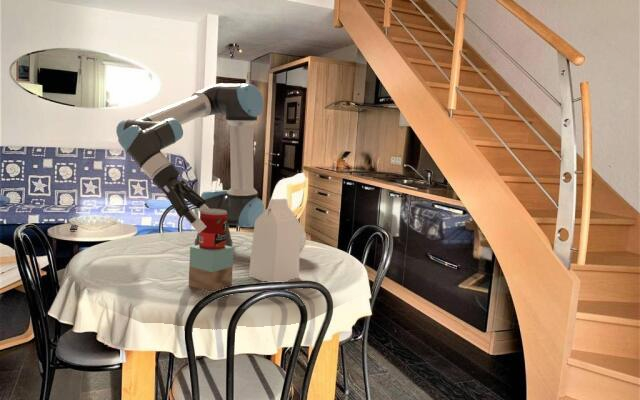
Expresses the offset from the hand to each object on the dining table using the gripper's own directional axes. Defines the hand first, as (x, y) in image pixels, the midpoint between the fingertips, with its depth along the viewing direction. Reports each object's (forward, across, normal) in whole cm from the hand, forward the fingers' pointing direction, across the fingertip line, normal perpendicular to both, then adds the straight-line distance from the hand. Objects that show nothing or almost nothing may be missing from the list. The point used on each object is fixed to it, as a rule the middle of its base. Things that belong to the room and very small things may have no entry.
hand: (209, 226), depth 144 cm
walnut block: (+14, 0, -12) cm, 18 cm away
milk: (+26, -14, 0) cm, 30 cm away
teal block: (+10, 0, -8) cm, 12 cm away
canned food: (+5, 0, -4) cm, 7 cm away
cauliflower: (+26, -39, 0) cm, 47 cm away
